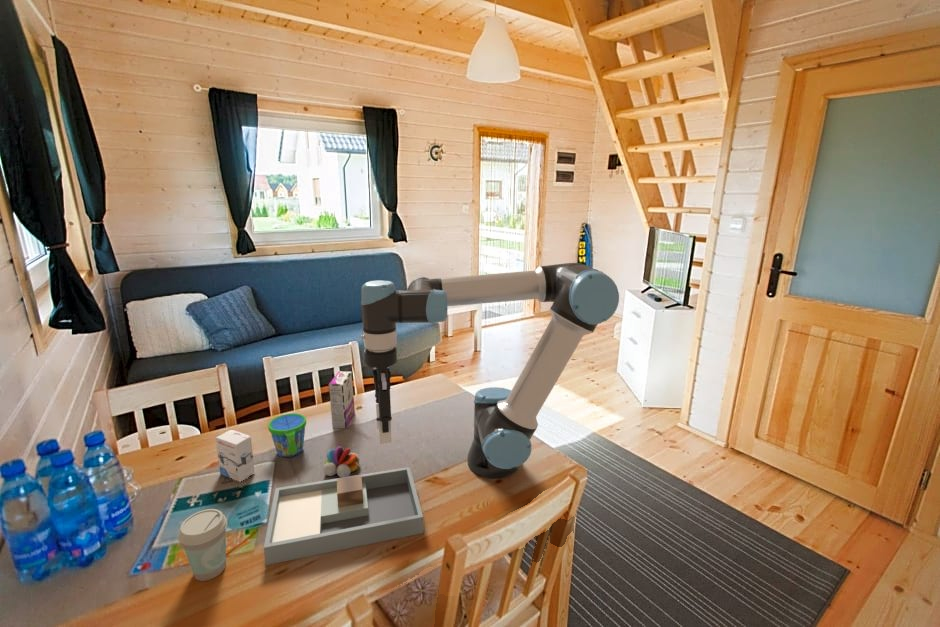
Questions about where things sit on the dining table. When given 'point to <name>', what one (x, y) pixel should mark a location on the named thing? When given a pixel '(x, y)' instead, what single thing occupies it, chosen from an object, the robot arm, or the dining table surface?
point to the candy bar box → (341, 399)
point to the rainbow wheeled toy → (340, 462)
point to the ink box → (235, 455)
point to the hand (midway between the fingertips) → (384, 434)
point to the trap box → (341, 516)
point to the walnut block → (349, 491)
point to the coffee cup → (205, 543)
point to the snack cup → (288, 434)
